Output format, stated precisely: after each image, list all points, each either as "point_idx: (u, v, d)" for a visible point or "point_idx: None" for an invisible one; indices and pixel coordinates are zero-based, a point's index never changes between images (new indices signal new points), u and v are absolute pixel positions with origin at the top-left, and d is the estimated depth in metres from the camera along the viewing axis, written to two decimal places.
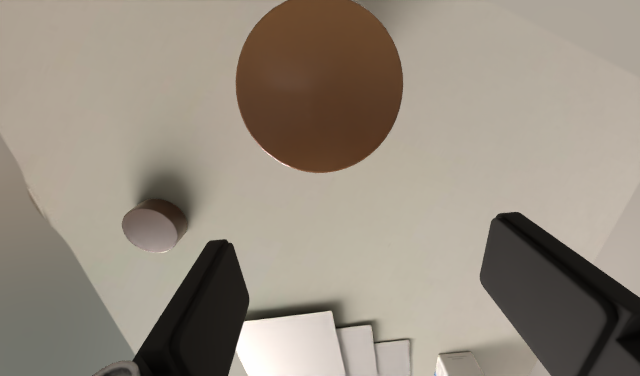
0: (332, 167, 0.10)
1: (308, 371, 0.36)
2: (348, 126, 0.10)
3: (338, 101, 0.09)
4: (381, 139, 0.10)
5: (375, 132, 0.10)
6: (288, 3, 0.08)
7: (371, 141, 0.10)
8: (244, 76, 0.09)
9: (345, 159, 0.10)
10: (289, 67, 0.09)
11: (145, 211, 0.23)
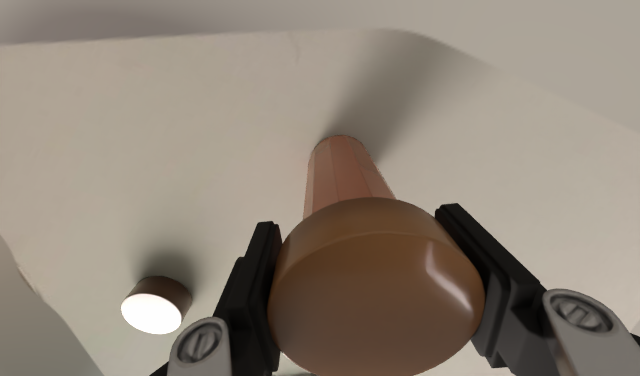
0: None
1: None
2: (408, 346, 0.07)
3: (398, 326, 0.07)
4: (448, 356, 0.08)
5: (442, 351, 0.08)
6: (343, 240, 0.06)
7: (435, 358, 0.08)
8: (278, 305, 0.07)
9: (400, 373, 0.08)
10: (338, 298, 0.07)
11: (146, 296, 0.21)
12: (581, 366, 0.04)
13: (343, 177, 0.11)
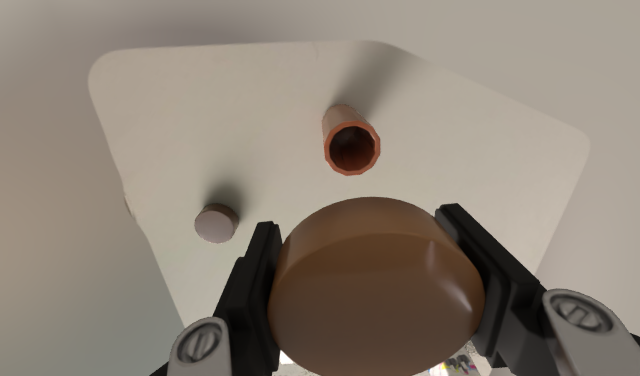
0: None
1: None
2: (408, 346, 0.07)
3: (398, 325, 0.07)
4: (448, 356, 0.08)
5: (442, 350, 0.08)
6: (343, 240, 0.06)
7: (435, 358, 0.08)
8: (279, 305, 0.07)
9: (400, 372, 0.08)
10: (339, 297, 0.07)
11: (213, 213, 0.32)
12: (581, 366, 0.04)
13: (343, 114, 0.22)
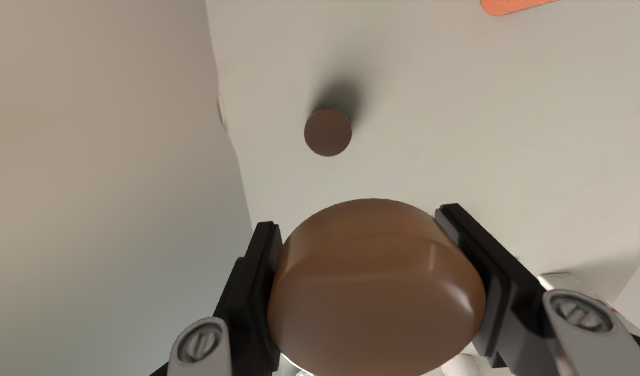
0: None
1: None
2: (408, 348, 0.07)
3: (399, 328, 0.07)
4: (448, 358, 0.08)
5: (442, 353, 0.08)
6: (344, 242, 0.06)
7: (436, 360, 0.08)
8: (278, 307, 0.07)
9: (400, 374, 0.08)
10: (339, 299, 0.07)
11: (330, 113, 0.27)
12: (581, 366, 0.04)
13: None
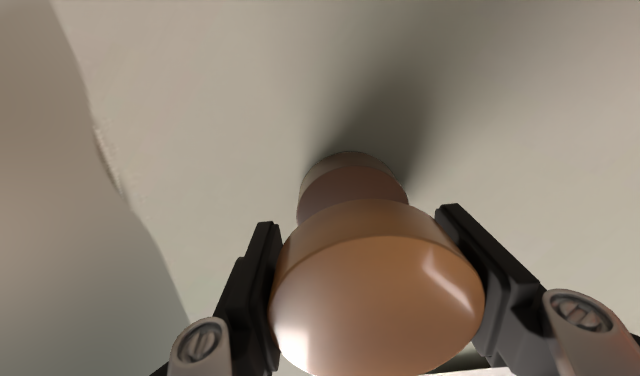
0: None
1: None
2: (408, 348, 0.07)
3: (398, 328, 0.07)
4: (447, 358, 0.08)
5: (442, 353, 0.08)
6: (343, 243, 0.06)
7: (435, 360, 0.08)
8: (278, 307, 0.07)
9: (400, 374, 0.08)
10: (338, 299, 0.07)
11: (361, 173, 0.11)
12: (581, 366, 0.04)
13: None
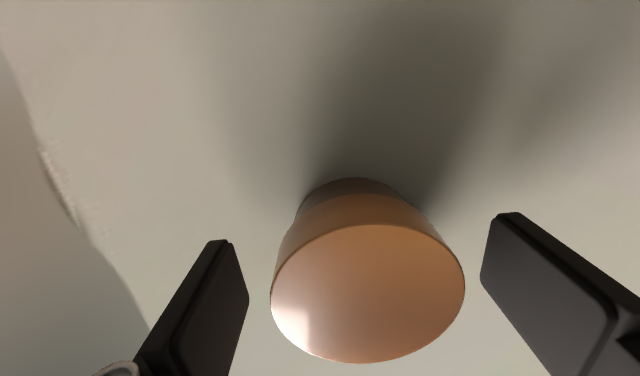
0: (375, 360, 0.09)
1: None
2: (397, 328, 0.08)
3: (388, 309, 0.08)
4: (433, 338, 0.08)
5: (428, 333, 0.08)
6: (338, 230, 0.07)
7: (422, 339, 0.09)
8: (280, 290, 0.08)
9: (391, 353, 0.09)
10: (334, 283, 0.07)
11: None
12: None
13: None
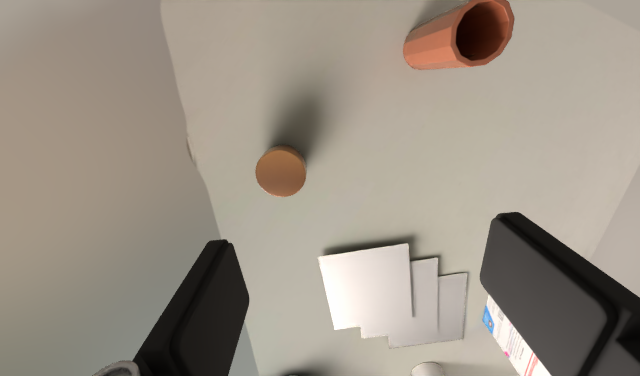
0: (286, 195, 0.31)
1: (380, 304, 0.43)
2: (290, 182, 0.30)
3: (286, 176, 0.30)
4: (301, 186, 0.31)
5: (299, 184, 0.31)
6: (270, 152, 0.29)
7: (298, 187, 0.31)
8: (258, 169, 0.30)
9: (290, 192, 0.31)
10: (271, 167, 0.30)
11: None
12: None
13: None
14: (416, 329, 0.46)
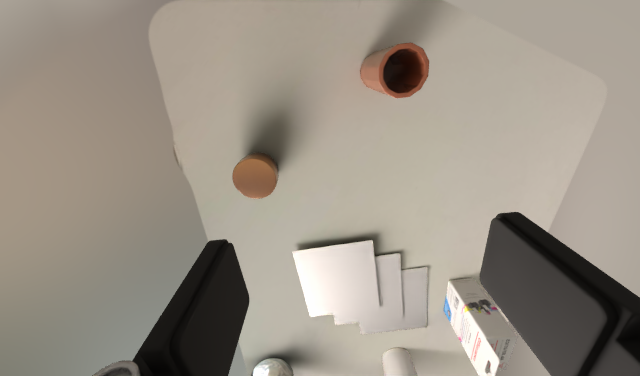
0: (260, 197, 0.36)
1: (350, 294, 0.48)
2: (263, 186, 0.35)
3: (259, 180, 0.35)
4: (272, 189, 0.35)
5: (270, 188, 0.35)
6: (244, 160, 0.33)
7: (270, 190, 0.35)
8: (234, 175, 0.34)
9: (263, 195, 0.36)
10: (246, 173, 0.34)
11: None
12: None
13: None
14: (384, 317, 0.51)
